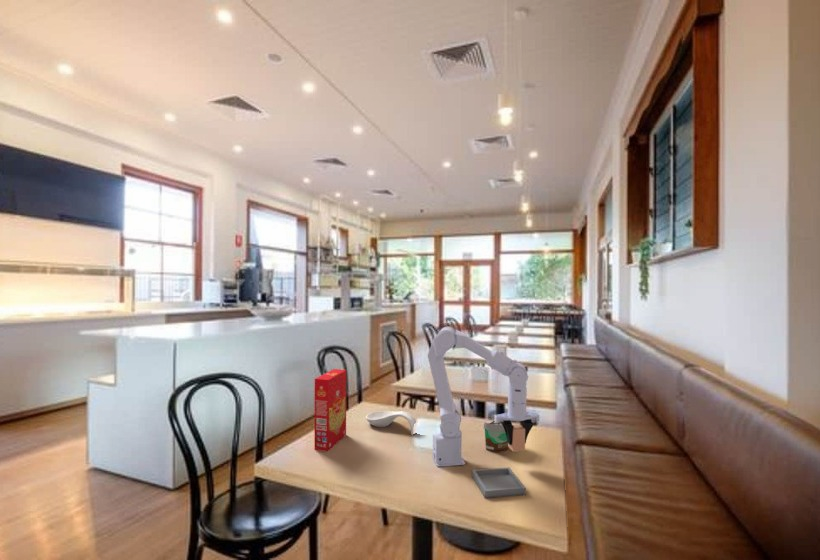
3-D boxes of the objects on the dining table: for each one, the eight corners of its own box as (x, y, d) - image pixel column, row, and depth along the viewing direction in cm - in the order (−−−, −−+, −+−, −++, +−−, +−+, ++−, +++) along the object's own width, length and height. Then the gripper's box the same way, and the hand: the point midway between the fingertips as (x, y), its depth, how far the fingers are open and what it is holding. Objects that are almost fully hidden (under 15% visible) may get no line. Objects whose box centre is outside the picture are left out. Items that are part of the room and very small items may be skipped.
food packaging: (328, 451, 140) (328, 379, 140) (314, 449, 142) (314, 378, 141) (346, 434, 155) (346, 369, 154) (333, 433, 156) (333, 368, 155)
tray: (485, 498, 112) (485, 491, 112) (472, 476, 124) (472, 469, 124) (525, 494, 114) (525, 488, 114) (509, 473, 126) (509, 467, 126)
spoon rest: (359, 425, 164) (360, 408, 164) (377, 417, 174) (377, 400, 174) (408, 439, 151) (408, 420, 151) (424, 429, 161) (424, 411, 161)
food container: (497, 457, 137) (497, 428, 137) (483, 450, 142) (483, 422, 142) (519, 447, 145) (519, 419, 145) (505, 441, 150) (505, 414, 149)
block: (512, 451, 128) (513, 429, 128) (508, 445, 132) (508, 424, 132) (524, 450, 129) (525, 428, 128) (519, 445, 133) (520, 424, 132)
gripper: (532, 396, 135) (532, 436, 135) (491, 398, 133) (490, 439, 133) (542, 403, 128) (542, 445, 128) (499, 405, 126) (498, 448, 126)
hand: (516, 443), depth 130 cm, fingers closed on block, 4 cm apart
